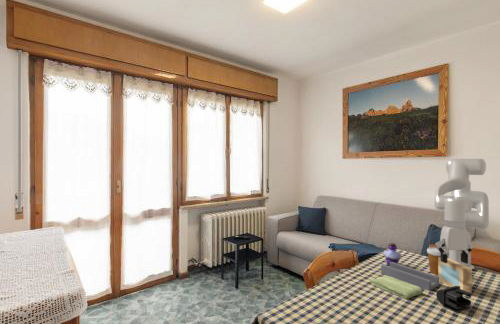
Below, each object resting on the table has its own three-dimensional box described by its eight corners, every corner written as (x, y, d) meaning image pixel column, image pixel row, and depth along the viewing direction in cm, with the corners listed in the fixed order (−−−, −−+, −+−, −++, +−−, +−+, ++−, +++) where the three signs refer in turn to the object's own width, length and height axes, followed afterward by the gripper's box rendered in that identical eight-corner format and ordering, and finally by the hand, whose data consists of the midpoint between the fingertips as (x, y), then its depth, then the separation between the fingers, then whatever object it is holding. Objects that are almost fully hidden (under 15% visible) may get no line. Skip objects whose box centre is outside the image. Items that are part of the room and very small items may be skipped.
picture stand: (391, 269, 140) (391, 261, 140) (439, 285, 121) (439, 276, 122) (381, 273, 135) (381, 265, 135) (428, 290, 116) (429, 281, 116)
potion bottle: (401, 264, 147) (401, 243, 147) (400, 269, 140) (401, 246, 140) (384, 261, 152) (384, 240, 152) (382, 266, 144) (383, 244, 145)
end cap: (451, 299, 109) (451, 283, 109) (471, 308, 102) (471, 290, 102) (435, 303, 105) (435, 286, 105) (455, 313, 99) (455, 295, 99)
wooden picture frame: (446, 280, 128) (446, 257, 128) (471, 294, 114) (472, 268, 114) (437, 280, 128) (438, 257, 128) (462, 294, 114) (462, 268, 114)
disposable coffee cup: (441, 270, 140) (441, 247, 140) (453, 277, 131) (453, 253, 131) (422, 269, 141) (422, 246, 141) (433, 276, 132) (433, 252, 132)
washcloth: (386, 279, 128) (386, 272, 129) (424, 295, 113) (424, 287, 113) (368, 284, 122) (368, 277, 122) (405, 302, 107) (405, 294, 107)
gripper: (465, 223, 125) (465, 260, 125) (430, 222, 124) (429, 259, 124) (479, 227, 118) (479, 265, 117) (442, 225, 117) (442, 264, 116)
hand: (454, 262), depth 120 cm, fingers open, 9 cm apart
